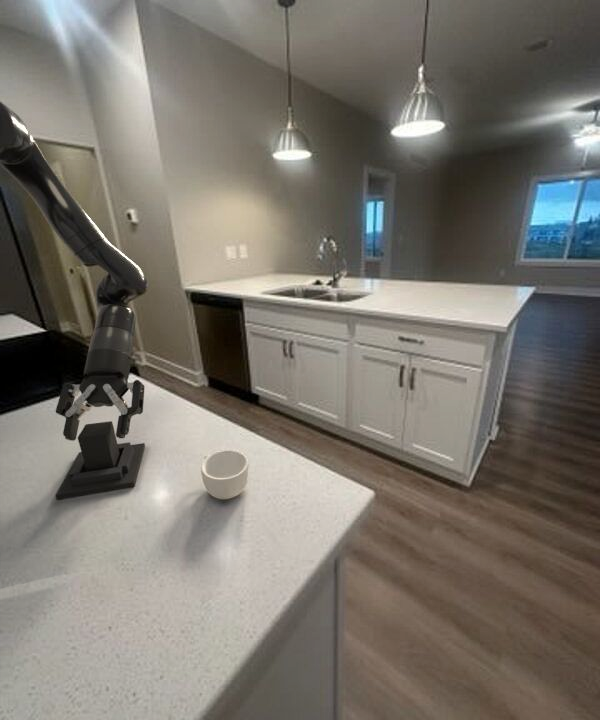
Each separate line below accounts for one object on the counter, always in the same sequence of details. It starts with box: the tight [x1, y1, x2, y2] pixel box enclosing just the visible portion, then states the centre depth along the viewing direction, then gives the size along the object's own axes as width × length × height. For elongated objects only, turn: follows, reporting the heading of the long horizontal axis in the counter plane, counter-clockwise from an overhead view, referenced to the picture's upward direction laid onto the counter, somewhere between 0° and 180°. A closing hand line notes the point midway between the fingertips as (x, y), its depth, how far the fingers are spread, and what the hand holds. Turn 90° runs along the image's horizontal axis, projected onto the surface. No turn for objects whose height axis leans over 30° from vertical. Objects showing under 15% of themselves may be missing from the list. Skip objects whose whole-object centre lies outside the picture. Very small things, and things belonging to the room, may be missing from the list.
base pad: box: [55, 442, 146, 501], centre depth 63 cm, size 12×12×2 cm
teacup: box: [200, 449, 250, 500], centre depth 59 cm, size 10×8×5 cm
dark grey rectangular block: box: [77, 420, 120, 472], centre depth 62 cm, size 4×4×8 cm
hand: (95, 438), depth 61 cm, fingers open, 8 cm apart
